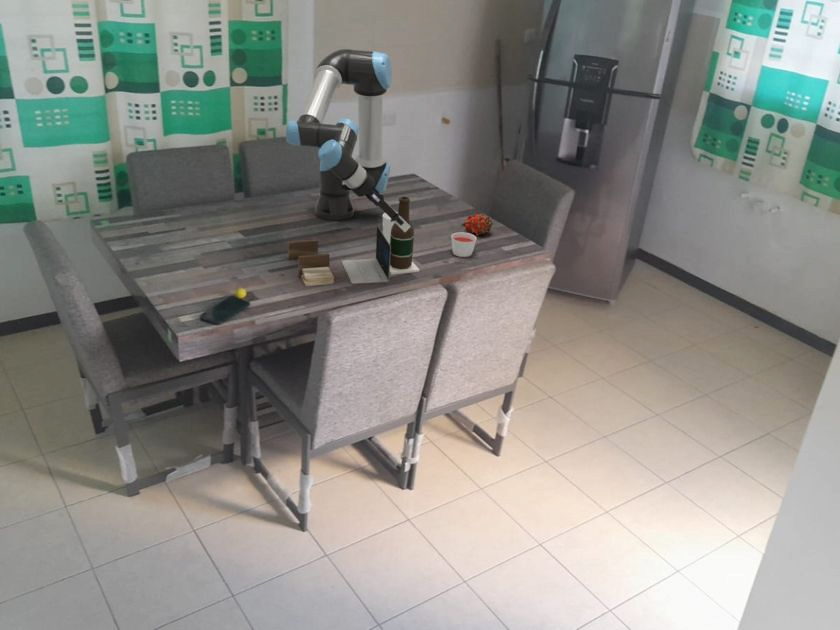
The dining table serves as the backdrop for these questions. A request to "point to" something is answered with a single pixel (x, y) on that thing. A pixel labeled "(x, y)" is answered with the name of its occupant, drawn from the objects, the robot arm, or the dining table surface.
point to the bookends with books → (311, 262)
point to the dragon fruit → (477, 224)
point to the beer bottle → (402, 239)
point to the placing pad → (404, 270)
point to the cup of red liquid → (463, 244)
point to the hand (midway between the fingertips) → (400, 221)
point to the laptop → (371, 264)
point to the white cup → (387, 226)
